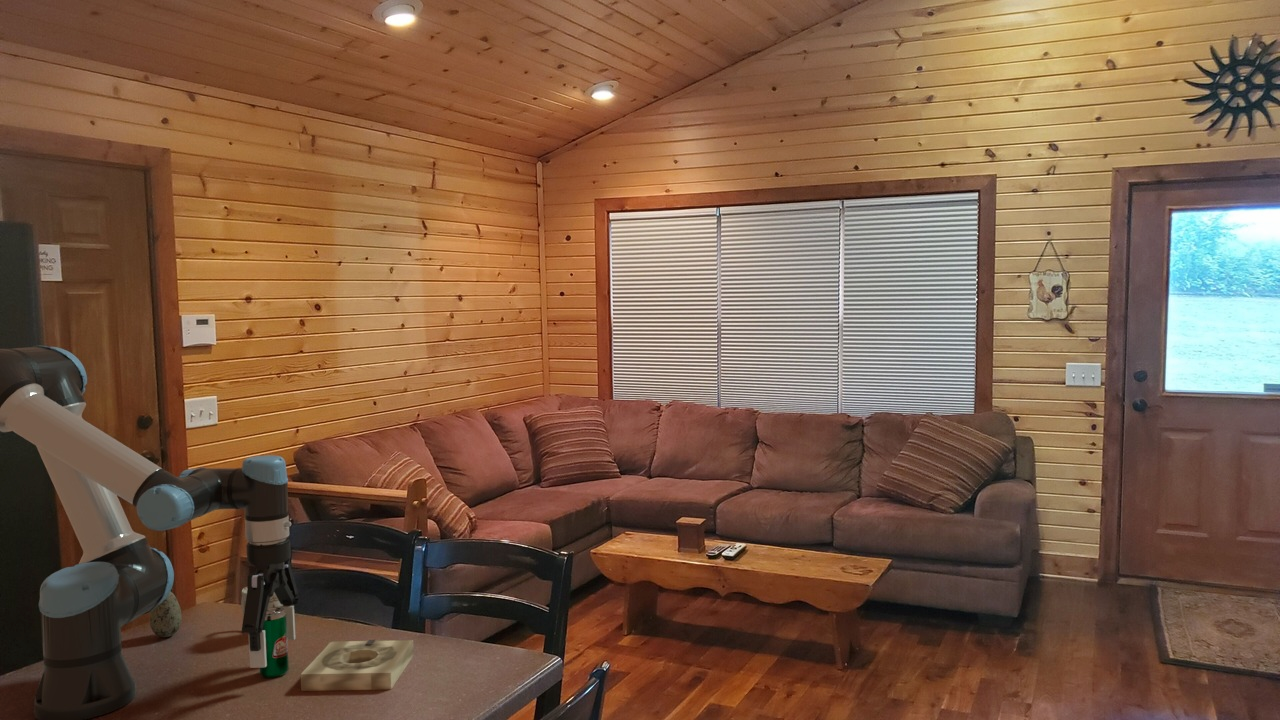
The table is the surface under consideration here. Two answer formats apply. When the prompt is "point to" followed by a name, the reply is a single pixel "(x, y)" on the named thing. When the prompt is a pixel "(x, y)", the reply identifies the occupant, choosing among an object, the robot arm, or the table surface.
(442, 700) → the table surface
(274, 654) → the soda can
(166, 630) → the decorative egg
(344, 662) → the hub block
